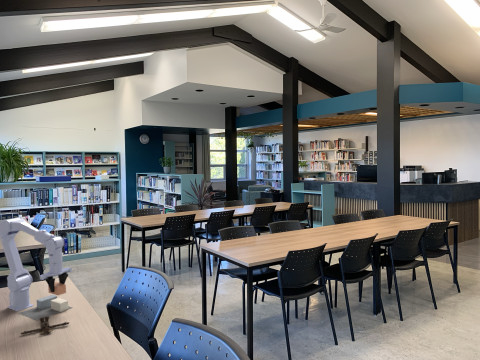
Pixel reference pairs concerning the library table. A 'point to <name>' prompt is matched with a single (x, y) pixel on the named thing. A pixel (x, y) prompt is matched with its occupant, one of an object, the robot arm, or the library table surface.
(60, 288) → the terracotta brick
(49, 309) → the charcoal mat
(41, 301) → the slate brick
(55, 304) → the cream brick
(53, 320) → the library table surface
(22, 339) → the library table surface
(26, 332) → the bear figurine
